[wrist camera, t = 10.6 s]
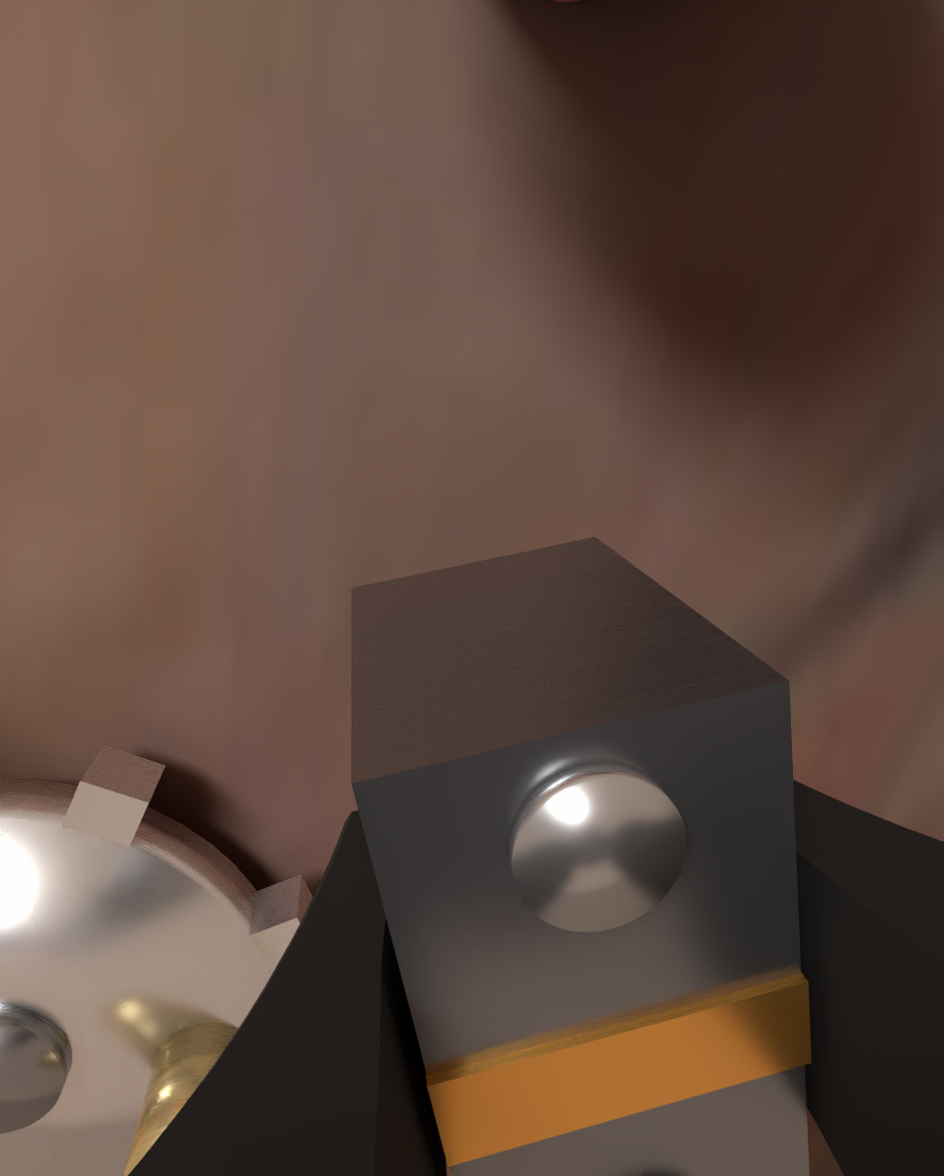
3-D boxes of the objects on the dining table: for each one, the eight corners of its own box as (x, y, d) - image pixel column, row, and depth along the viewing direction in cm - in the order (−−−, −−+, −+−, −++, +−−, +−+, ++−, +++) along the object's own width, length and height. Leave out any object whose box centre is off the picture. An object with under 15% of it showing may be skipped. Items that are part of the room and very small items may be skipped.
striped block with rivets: (350, 588, 10) (350, 802, 5) (595, 536, 11) (809, 693, 6) (443, 979, 13) (503, 1387, 8) (644, 926, 13) (827, 1284, 8)
